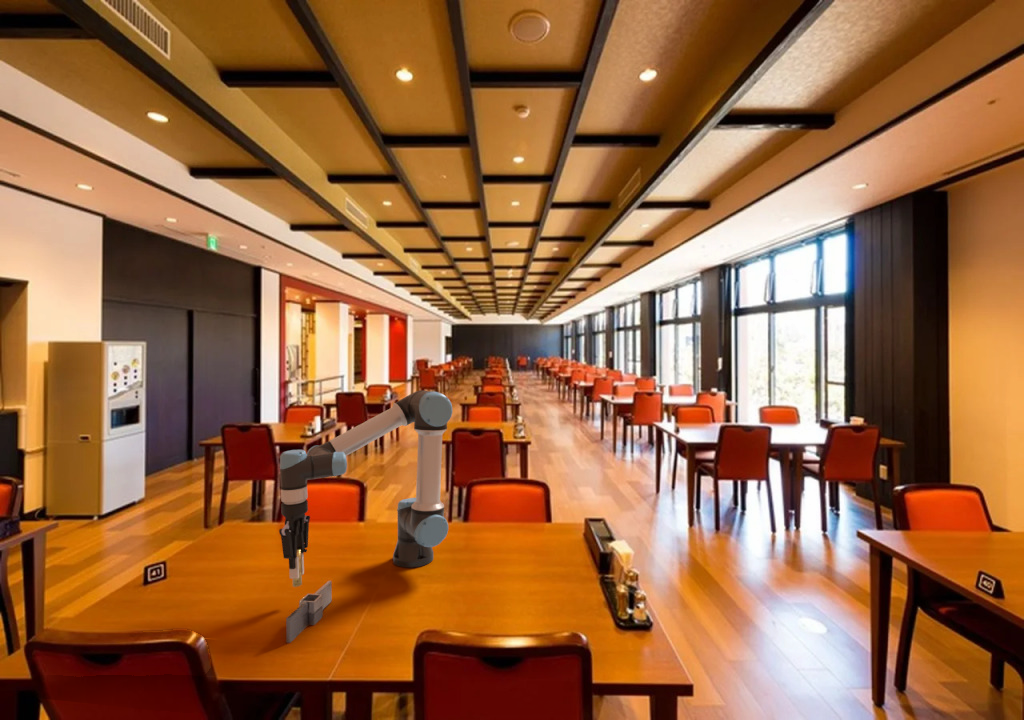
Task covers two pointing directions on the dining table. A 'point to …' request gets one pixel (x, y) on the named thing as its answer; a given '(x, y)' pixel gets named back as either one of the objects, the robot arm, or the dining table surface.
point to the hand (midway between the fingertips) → (296, 575)
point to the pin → (299, 581)
